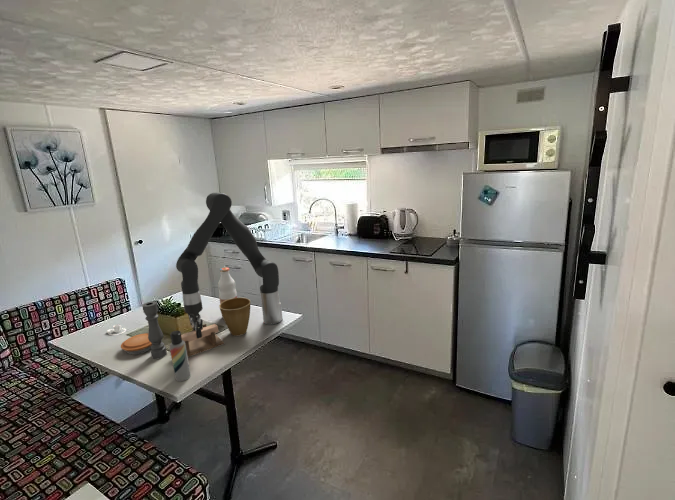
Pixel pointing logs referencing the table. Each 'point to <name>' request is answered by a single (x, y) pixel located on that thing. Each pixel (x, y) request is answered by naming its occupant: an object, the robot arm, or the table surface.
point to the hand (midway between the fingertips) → (198, 335)
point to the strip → (205, 332)
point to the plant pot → (236, 315)
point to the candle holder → (154, 330)
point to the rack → (203, 344)
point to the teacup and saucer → (116, 330)
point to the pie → (137, 344)
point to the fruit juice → (226, 286)
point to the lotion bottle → (179, 356)
